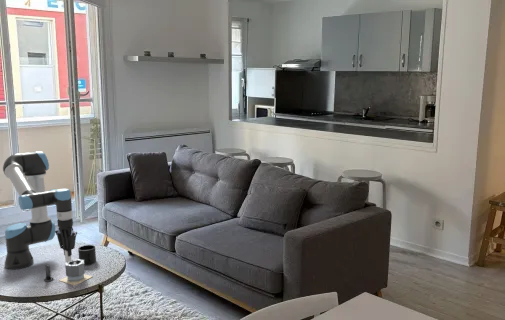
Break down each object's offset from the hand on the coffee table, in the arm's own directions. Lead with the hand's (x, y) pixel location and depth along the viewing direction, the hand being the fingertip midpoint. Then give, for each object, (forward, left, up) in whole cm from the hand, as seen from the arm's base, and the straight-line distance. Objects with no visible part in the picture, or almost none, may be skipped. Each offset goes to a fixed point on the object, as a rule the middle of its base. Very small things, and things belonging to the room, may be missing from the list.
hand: (68, 261), depth 255 cm
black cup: (-12, +23, -12) cm, 29 cm away
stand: (-12, -4, -12) cm, 17 cm away
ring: (0, +4, -8) cm, 9 cm away
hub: (0, +4, -12) cm, 12 cm away
